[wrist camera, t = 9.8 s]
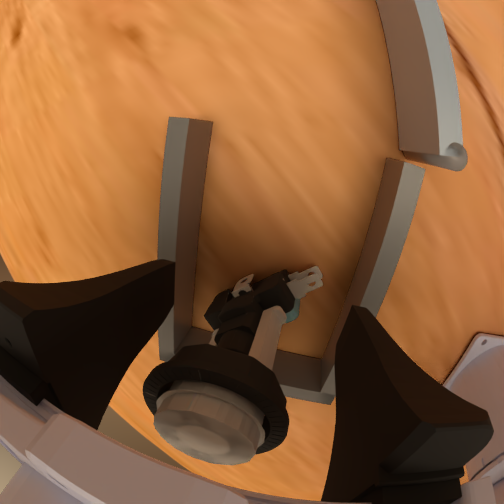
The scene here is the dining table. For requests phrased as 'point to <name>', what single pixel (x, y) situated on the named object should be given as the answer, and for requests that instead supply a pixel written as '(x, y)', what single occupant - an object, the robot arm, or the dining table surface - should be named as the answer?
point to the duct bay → (186, 242)
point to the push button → (230, 374)
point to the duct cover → (423, 83)
